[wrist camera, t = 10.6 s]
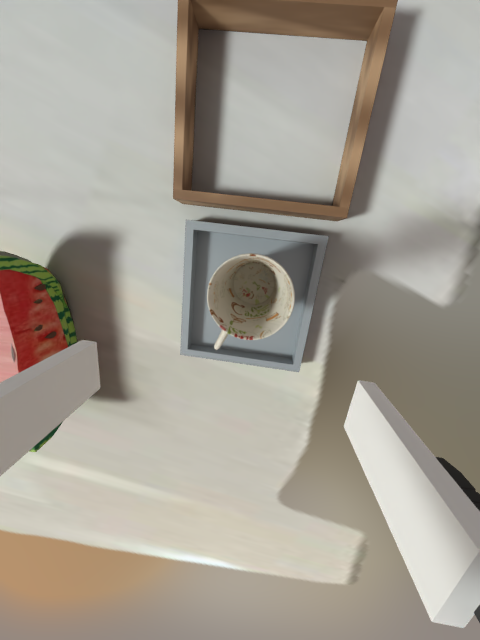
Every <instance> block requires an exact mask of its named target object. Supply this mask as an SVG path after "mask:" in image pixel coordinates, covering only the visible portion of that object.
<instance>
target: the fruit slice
mask: <svg viewBox="0 0 480 640" xmlns="http://www.w3.org/2000/svg"><path fill="white" fill-rule="evenodd" d="M75 343H77V338H76V332H75V328H74V324H73V320H72V318H71V316H70V310H69V308H68V305H67V303H66V300H65V298H64V295H63V292H62V289H61V286H60V284H59V282H58V281H57V279H56V278H55V277H54V276H53V275H52V274H51V272H50V271H49V270H48V269H46V268H44V267H42V266H41V265H38V264H34V263H32V262H31V261H29V260H27V259H24V258H22V257H19V256H17V255H14V254H10V253H7V252H2V251H0V383H1V382H2V381H4V380H6V379H8V378H10V377H12V376H14V375H16V374H18V373H20V372H22V371H24V370H25V369H27V368H29V367H31V366H33V365H35V364H37V363H39V362H41V361H43V360H45V359H46V358H48V357H50V356H52V355H54V354H56V353H58V352H60V351H62V350H64V349H66V348H68V347H69V346H71V345H73V344H75ZM61 424H62V422H61V423H60V424H59V425H58V426H57V427H56V428H55V429H53V430H52V431H51V432H50V433H49V434H48V435H47V436H45V437H44V438H43V439H42V440H41V441H40V442H39V443H37V444H36V445H35V446H34V447H33V448H32V449H31V450H30V451H31V452H36V451H37V450H38V449H40V448H41V447H42V446H43V445H44V444H45V443H46V442H47V441H48V440H49V439H50V438H51V437H52V436H53V435H54V433H55V432H56V431H57V429H58V428H59V426H60V425H61Z"/></svg>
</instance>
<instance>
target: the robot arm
mask: <svg viewBox="0 0 480 640" xmlns="http://www.w3.org/2000/svg"><path fill="white" fill-rule="evenodd" d="M99 389H100V376H99V364H98V352H97V342H94V341H87V340H81V341H79V342H77V343H75V344H73V345H71V346H69V347H68V348H66V349H64V350H62V351H60V352H58V353H56V354H54V355H52V356H50V357H48V358H46V359H45V360H43V361H41V362H39V363H37V364H35V365H33V366H31V367H29V368H27V369H25V370H24V371H22V372H20V373H18V374H16V375H14V376H12V377H10V378H8V379H6V380H4V381H2V382H1V383H0V476H1V475H2V474H3V473H4V472H6V471H7V470H8V469H9V468H10V467H11V466H12V465H14V464H15V463H16V462H17V461H18V460H19V459H20V458H22V457H23V456H24V455H25V454H26V453H27V452H28V451H30V450H31V449H32V448H33V447H34V446H35V445H36V444H37V443H39V442H40V441H41V440H42V439H43V438H44V437H45V436H47V435H48V434H49V433H50V432H51V431H52V430H53V429H55V428H56V427H57V426H58V425H59V424H60V423H61V422H63V421H64V420H65V419H66V418H67V417H68V416H69V415H70V414H72V413H73V412H74V411H75V410H76V409H77V408H78V407H80V406H81V405H82V404H83V403H84V402H85V401H86V400H88V399H89V398H90V397H91V396H92V395H93V394H94V393H95V392H97V391H98V390H99ZM344 428H345V430H346V432H347V434H348V437H349V439H350V441H351V443H352V446H353V448H354V450H355V452H356V454H357V457H358V459H359V461H360V463H361V465H362V468H363V470H364V472H365V475H366V477H367V479H368V481H369V483H370V486H371V488H372V490H373V492H374V494H375V497H376V499H377V501H378V503H379V505H380V508H381V510H382V512H383V515H384V516H385V519H386V521H387V523H388V526H389V528H390V530H391V532H392V535H393V537H394V539H395V541H396V543H397V546H398V548H399V550H400V552H401V554H402V557H403V559H404V561H405V563H406V566H407V568H408V570H409V572H410V574H411V577H412V579H413V581H414V583H415V586H416V588H417V590H418V592H419V594H420V597H421V599H422V601H423V603H424V605H425V608H426V610H427V612H428V614H429V617H430V619H431V621H432V622H435V623H441V624H445V625H451V626H456V627H461V628H464V627H465V626H466V625H467V623H468V622H469V621H470V619H471V618H472V617H473V615H474V614H475V615H476V617H477V619H478V621H479V622H480V494H479V493H478V492H476V491H475V488H474V487H473V486H472V485H471V484H470V483H469V481H468V480H467V479H466V478H465V477H464V476H463V475H462V473H461V472H459V471H458V470H457V469H456V468H455V467H453V466H452V465H451V464H450V463H448V462H447V461H446V460H445V459H443V458H439V457H435V456H434V455H433V454H432V452H430V450H429V449H428V448H427V446H426V445H425V444H424V443H423V442H422V440H421V439H420V438H419V437H418V435H417V434H416V433H415V432H414V430H413V429H412V428H411V427H410V426H409V424H408V423H407V422H406V421H405V419H404V418H403V417H402V416H401V415H400V413H399V412H398V411H397V410H396V409H395V407H394V406H393V405H392V404H391V402H390V401H389V400H388V399H387V398H386V396H385V395H384V394H383V393H382V391H381V390H380V389H379V388H378V386H377V385H376V384H375V383H373V382H366V381H359V380H358V382H357V386H356V389H355V392H354V395H353V398H352V402H351V405H350V408H349V411H348V414H347V418H346V421H345V424H344Z"/></svg>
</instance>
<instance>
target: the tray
mask: <svg viewBox="0 0 480 640" xmlns="http://www.w3.org/2000/svg"><path fill="white" fill-rule="evenodd" d="M328 237H329V236H322V235H314V234H305V233H296V232H288V231H279V230H271V229H262V228H253V227H245V226H236V225H228V224H219V223H210V222H202V221H193V220H186V228H185V252H184V277H183V302H182V326H181V351H180V355H186V356H193V357H200V358H206V359H213V360H220V361H227V362H233V363H240V364H247V365H254V366H261V367H267V368H274V369H281V370H288V371H294V372H299V371H300V366H301V361H302V357H303V352H304V348H305V343H306V338H307V334H308V329H309V325H310V320H311V315H312V311H313V306H314V302H315V297H316V292H317V288H318V283H319V278H320V274H321V269H322V265H323V260H324V255H325V251H326V246H327V242H328ZM247 253H255V254H261V255H265V256H267V257H270V258H272V259H273V260H275V261H276V262H278V263H279V264H280V265H281V266H282V267H283V268H284V269H285V270H286V271H287V273H288V274H289V276H290V278H291V280H292V283H293V286H294V292H295V302H294V308H293V311H292V313H291V316H290V318H289V319H288V321H287V322H286V323H285V325H284V326H283V327H282V328H281V329H280V330H279V331H277V332H276V333H274V334H273V335H271V336H268V337H266V338H263V339H258V340H244V339H240V338H236V337H234V336H232V335H230V334H228V336H227V337H226V339H225V341H224V342H223V344H222V345H221V347H220V348H219V349H217V350H216V349H214V345H215V343H216V341H217V339H218V337H219V335H220V333H221V331H222V329H221V328H220V327H219V326H218V325H217V323H216V322H215V321H214V319H213V317H212V315H211V313H210V311H209V307H208V302H207V291H208V286H209V282H210V280H211V278H212V276H213V274H214V272H215V271H216V270H217V269H218V267H219V266H220V265H221V264H223V263H224V262H225V261H227V260H228V259H230V258H232V257H234V256H237V255H241V254H247Z"/></svg>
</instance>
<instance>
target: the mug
mask: <svg viewBox="0 0 480 640" xmlns="http://www.w3.org/2000/svg"><path fill="white" fill-rule="evenodd" d="M207 302H208V307H209V311H210V313H211V315H212V317H213V319H214V321H215V322H216V323H217V325H218V326H219V327H220V328H221V329H222V331H221V333H220V335H219V337H218V339H217V341H216V343H215V345H214V349H216V350H217V349H219V348H220V347H221V345H222V344H223V342H224V341H225V339H226V337H227V336H228V334H230V335H232V336H234V337H236V338H240V339H244V340H258V339H263V338H266V337H268V336H271V335H273V334H274V333H276V332H277V331H279V330H280V329H281V328H282V327H283V326H284V325H285V323H286V322H287V321H288V319H289V318H290V316H291V313H292V311H293V308H294V302H295V292H294V286H293V283H292V280H291V278H290V276H289V274H288V273H287V271H286V270H285V269H284V268H283V267H282V266H281V265H280V264H279V263H278V262H276V261H275V260H273V259H272V258H270V257H267V256H265V255H261V254H255V253H247V254H241V255H237V256H234V257H232V258H230V259H228V260H227V261H225V262H224V263H223V264H221V265H220V266H219V267H218V269H217V270H216V271H215V272H214V274H213V276H212V278H211V280H210V282H209V286H208V291H207Z"/></svg>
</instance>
